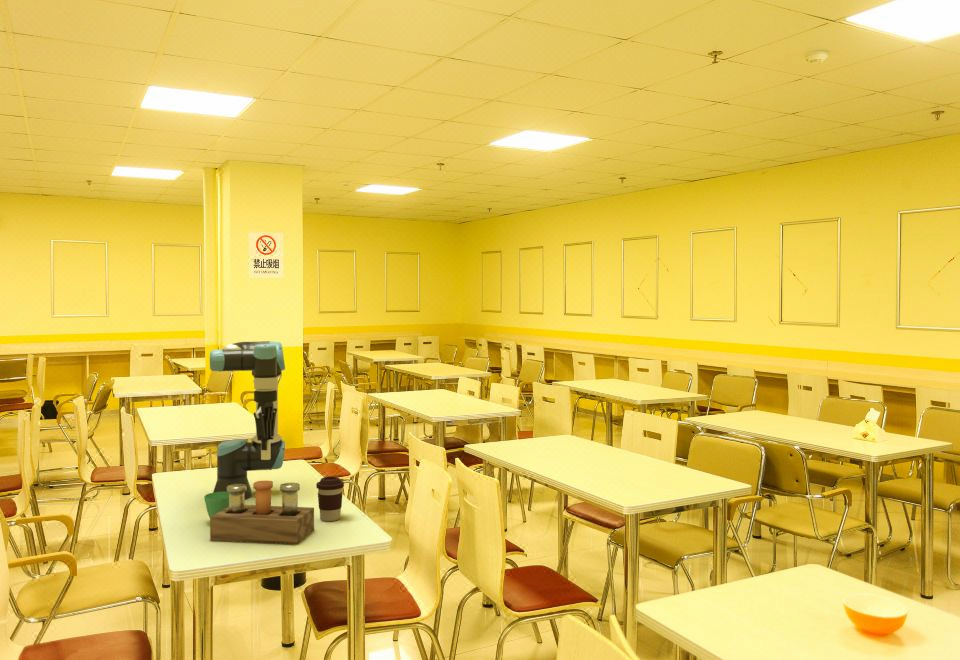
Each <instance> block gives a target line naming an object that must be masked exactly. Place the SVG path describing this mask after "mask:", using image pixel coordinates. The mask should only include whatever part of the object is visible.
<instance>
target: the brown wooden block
mask: <svg viewBox="0 0 960 660" xmlns="http://www.w3.org/2000/svg"><path fill="white" fill-rule="evenodd" d="M314 531H315V507H309V506H298V514H297V515H296V516H282V506H281V505H280V506H279V505H271V513H270V514H269V515H256V504H245V512H244V513H242V514H231V513H229V507H227V508H225V509H223V510H222V511H220V512H218V513H216V514H215V515H213V516H211V517H210V518H209V536H210V537H209V541H210V542H225V543H244V544H246V543H247V544H268V545H269V544H270V545H291V546H297V545H299V544H300V543H301V542H302V541H303V540H304V539H305V538H307V537H308V536H309V535H310V534H312V533H313V532H314Z"/></svg>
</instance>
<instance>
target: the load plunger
mask: <svg viewBox="0 0 960 660" xmlns="http://www.w3.org/2000/svg"><path fill="white" fill-rule="evenodd" d="M252 486H253V490H255V505H256V515H269V514H270V513H271V506H272V489H273V488H274V482H273V481H272V480H258V481H255V482H253V483H252Z"/></svg>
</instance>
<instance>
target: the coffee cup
mask: <svg viewBox="0 0 960 660" xmlns="http://www.w3.org/2000/svg"><path fill="white" fill-rule="evenodd" d="M315 486H316V489H317V491H318V492H317V500H318V509H319V519H320V520H321V521H322V522H335V521H338V520H340V519H341V511H342V506H343V504H342V503H343V488H344V487H345V482H344V481H343V480H341V479H340V477H339V476H325V477H322V478H320V480H319V481H317V482H316V485H315Z"/></svg>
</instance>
